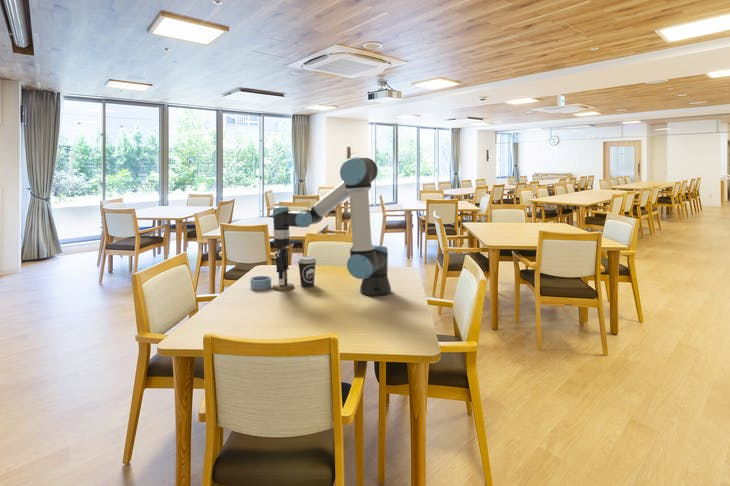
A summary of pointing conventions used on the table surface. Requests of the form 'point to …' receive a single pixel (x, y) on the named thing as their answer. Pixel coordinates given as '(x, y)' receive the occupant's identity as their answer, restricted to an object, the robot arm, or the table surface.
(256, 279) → the bowl
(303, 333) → the table surface
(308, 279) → the coffee cup
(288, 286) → the lid
